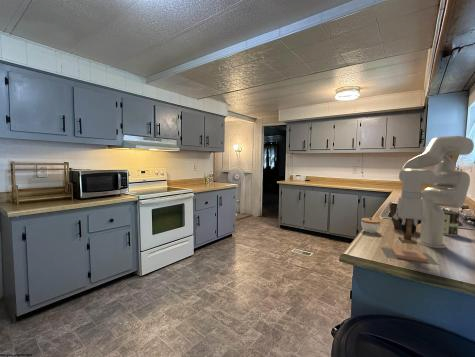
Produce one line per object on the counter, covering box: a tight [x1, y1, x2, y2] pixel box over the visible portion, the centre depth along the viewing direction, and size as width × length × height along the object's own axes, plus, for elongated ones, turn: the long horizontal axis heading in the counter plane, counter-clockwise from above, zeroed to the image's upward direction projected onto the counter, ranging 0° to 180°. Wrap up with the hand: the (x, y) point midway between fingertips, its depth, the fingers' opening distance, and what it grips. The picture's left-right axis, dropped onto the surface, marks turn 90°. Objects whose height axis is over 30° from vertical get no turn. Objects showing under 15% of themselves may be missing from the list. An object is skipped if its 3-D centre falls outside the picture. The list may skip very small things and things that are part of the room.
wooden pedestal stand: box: [398, 219, 418, 246], centre depth 114 cm, size 6×6×14 cm
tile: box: [390, 246, 428, 263], centre depth 112 cm, size 2×12×10 cm
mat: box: [380, 246, 440, 266], centre depth 113 cm, size 14×20×1 cm
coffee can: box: [442, 209, 461, 237], centre depth 151 cm, size 10×10×14 cm
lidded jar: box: [360, 216, 381, 234], centre depth 151 cm, size 11×11×9 cm
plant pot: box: [389, 202, 401, 230], centre depth 160 cm, size 15×15×16 cm
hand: (408, 232), depth 114 cm, fingers closed on wooden pedestal stand, 3 cm apart
